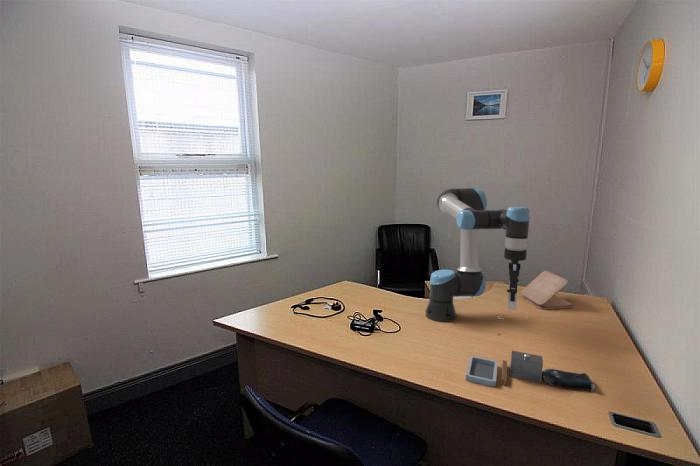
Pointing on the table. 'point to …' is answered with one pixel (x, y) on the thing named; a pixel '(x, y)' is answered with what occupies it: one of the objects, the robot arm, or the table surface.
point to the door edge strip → (504, 372)
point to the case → (546, 291)
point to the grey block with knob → (526, 366)
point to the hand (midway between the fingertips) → (511, 303)
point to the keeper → (482, 371)
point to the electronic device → (568, 379)
